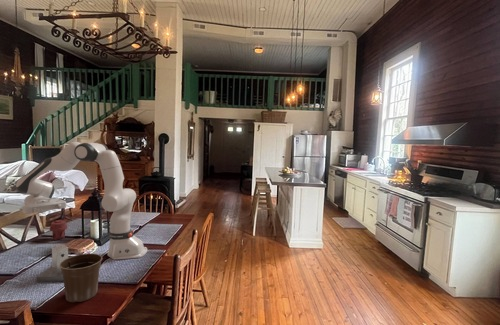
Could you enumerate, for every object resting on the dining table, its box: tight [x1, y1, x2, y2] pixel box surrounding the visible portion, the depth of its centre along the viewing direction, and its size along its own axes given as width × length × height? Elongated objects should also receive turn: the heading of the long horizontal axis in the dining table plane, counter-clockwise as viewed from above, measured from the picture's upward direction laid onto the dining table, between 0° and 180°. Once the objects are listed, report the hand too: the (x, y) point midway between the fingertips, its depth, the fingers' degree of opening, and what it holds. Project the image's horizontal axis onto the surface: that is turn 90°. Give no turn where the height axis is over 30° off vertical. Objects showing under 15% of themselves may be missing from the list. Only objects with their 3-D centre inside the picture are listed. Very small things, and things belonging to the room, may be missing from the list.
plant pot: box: [60, 252, 103, 303], centre depth 123 cm, size 16×16×16 cm
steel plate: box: [36, 265, 64, 283], centre depth 141 cm, size 14×14×2 cm
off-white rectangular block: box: [51, 244, 69, 273], centre depth 140 cm, size 5×6×12 cm
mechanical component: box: [49, 219, 68, 241], centre depth 188 cm, size 12×10×10 cm
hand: (50, 209), depth 152 cm, fingers open, 8 cm apart
